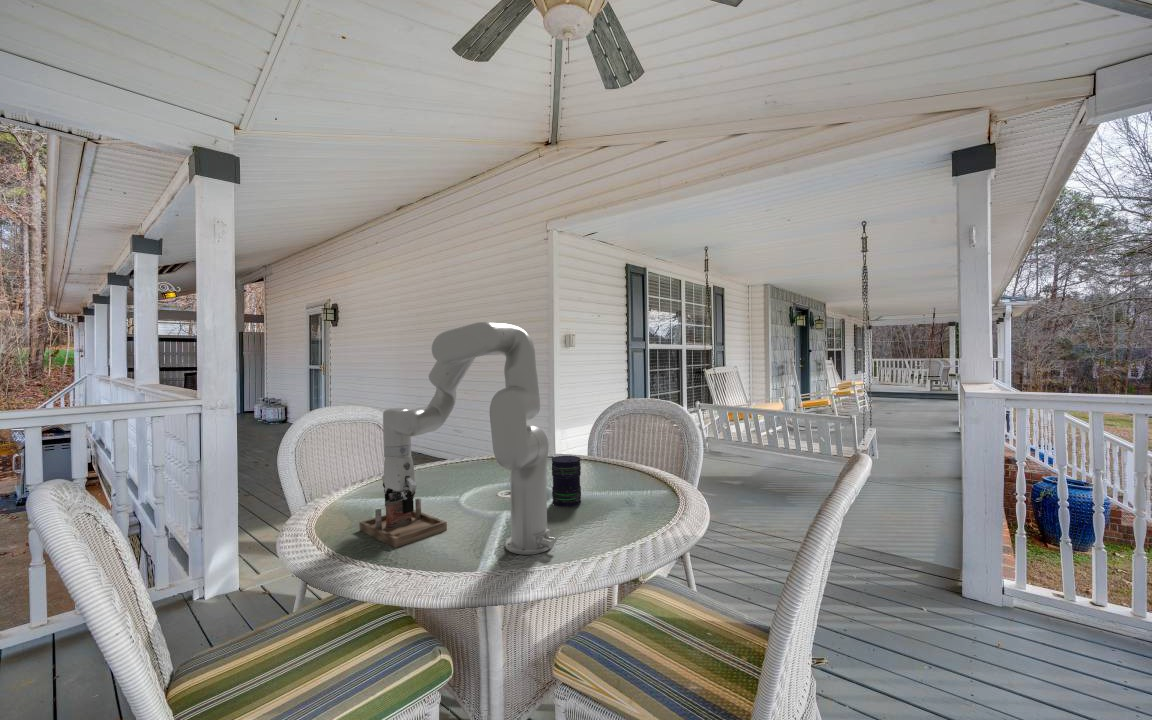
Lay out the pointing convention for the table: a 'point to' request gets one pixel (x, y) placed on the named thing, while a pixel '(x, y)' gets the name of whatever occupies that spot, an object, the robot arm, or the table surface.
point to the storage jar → (566, 481)
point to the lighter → (396, 511)
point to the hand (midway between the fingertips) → (399, 508)
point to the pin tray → (403, 527)
